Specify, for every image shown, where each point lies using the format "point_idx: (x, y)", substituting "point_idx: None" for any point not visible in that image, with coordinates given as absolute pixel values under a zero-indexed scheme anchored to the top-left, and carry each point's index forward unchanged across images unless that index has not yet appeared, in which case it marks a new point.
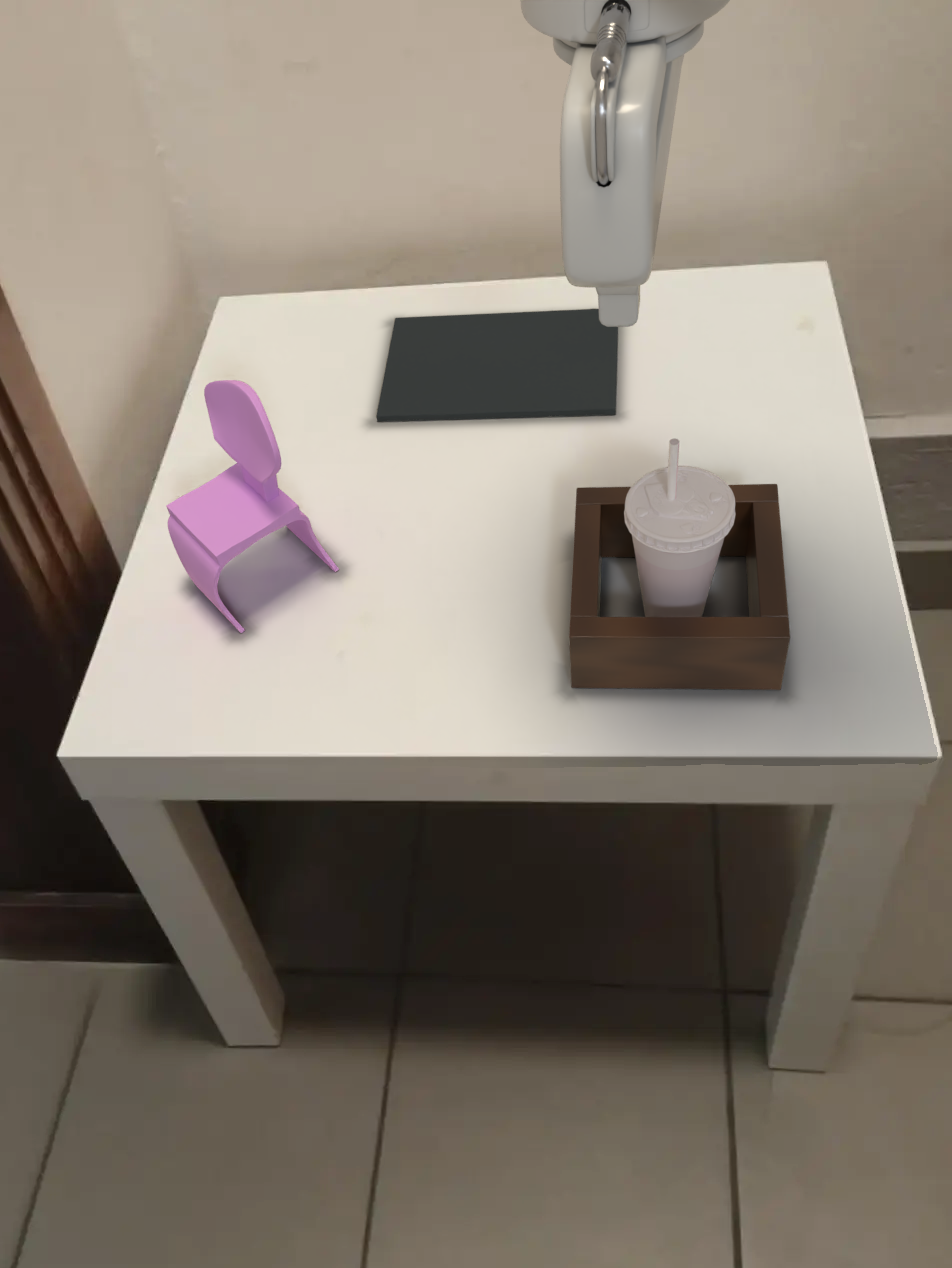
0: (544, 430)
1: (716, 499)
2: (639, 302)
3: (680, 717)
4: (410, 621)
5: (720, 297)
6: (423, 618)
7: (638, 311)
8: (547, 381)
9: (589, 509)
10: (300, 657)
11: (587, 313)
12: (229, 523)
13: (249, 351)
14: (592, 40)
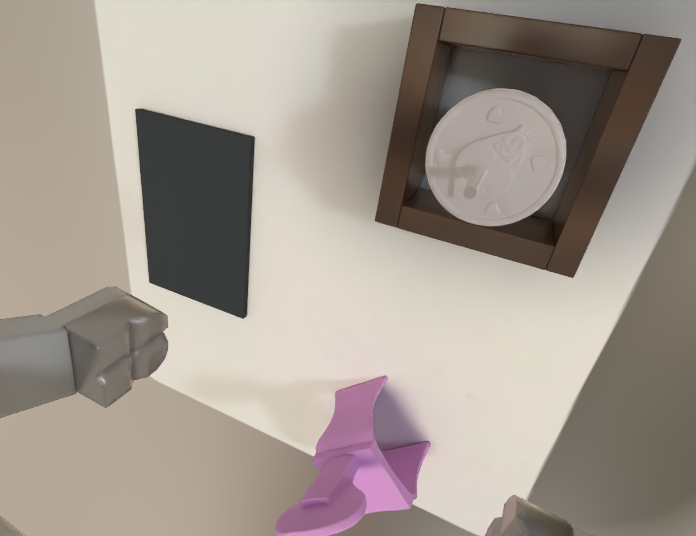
0: (266, 200)
1: (501, 116)
2: (538, 523)
3: (646, 160)
4: (449, 345)
5: (117, 3)
6: (449, 336)
7: (570, 533)
8: (216, 188)
9: (406, 217)
10: (463, 418)
11: (142, 137)
12: (376, 489)
13: (178, 372)
14: None
